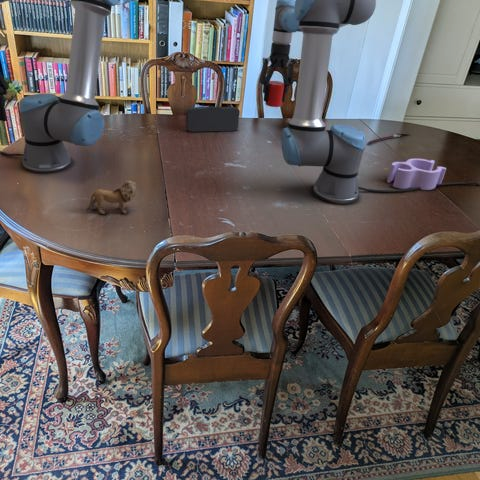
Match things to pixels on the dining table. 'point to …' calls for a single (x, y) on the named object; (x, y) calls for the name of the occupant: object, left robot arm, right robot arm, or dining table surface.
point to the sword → (386, 138)
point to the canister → (275, 94)
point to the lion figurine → (114, 196)
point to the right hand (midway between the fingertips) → (273, 101)
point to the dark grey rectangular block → (212, 119)
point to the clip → (415, 174)
